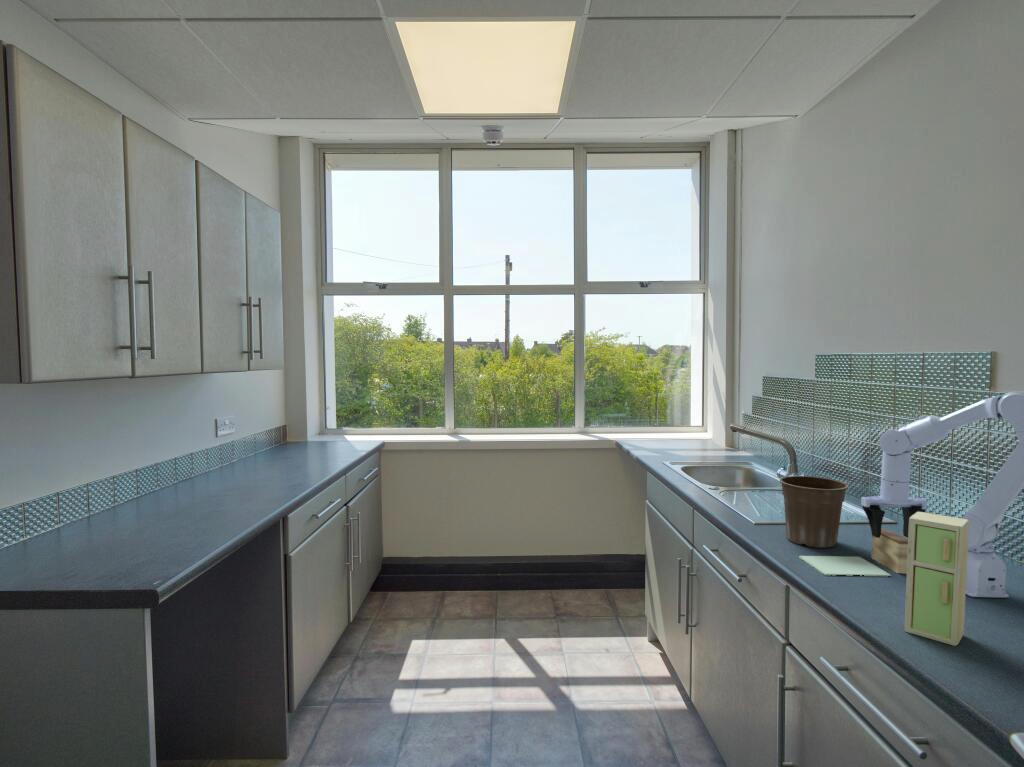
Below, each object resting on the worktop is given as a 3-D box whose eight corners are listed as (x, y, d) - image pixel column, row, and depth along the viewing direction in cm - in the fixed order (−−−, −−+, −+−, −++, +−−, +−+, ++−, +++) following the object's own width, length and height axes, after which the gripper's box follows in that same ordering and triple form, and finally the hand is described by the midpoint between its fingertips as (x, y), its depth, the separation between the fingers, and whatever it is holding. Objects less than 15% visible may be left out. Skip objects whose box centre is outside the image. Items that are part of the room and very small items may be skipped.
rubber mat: (890, 576, 136) (890, 574, 136) (824, 575, 136) (824, 573, 136) (859, 558, 148) (859, 556, 148) (798, 557, 148) (798, 555, 148)
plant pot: (803, 552, 151) (806, 489, 151) (764, 533, 167) (767, 476, 166) (859, 549, 155) (863, 487, 154) (816, 531, 170) (819, 475, 170)
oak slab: (911, 574, 138) (913, 542, 138) (897, 573, 138) (899, 541, 138) (883, 559, 148) (885, 529, 148) (871, 558, 148) (872, 528, 148)
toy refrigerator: (901, 632, 108) (907, 517, 107) (911, 620, 113) (917, 510, 112) (955, 648, 102) (963, 527, 101) (963, 635, 108) (970, 519, 107)
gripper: (914, 477, 146) (910, 532, 147) (854, 475, 146) (851, 531, 147) (934, 483, 139) (931, 541, 140) (872, 482, 139) (869, 540, 140)
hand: (891, 536), depth 143 cm, fingers open, 7 cm apart
